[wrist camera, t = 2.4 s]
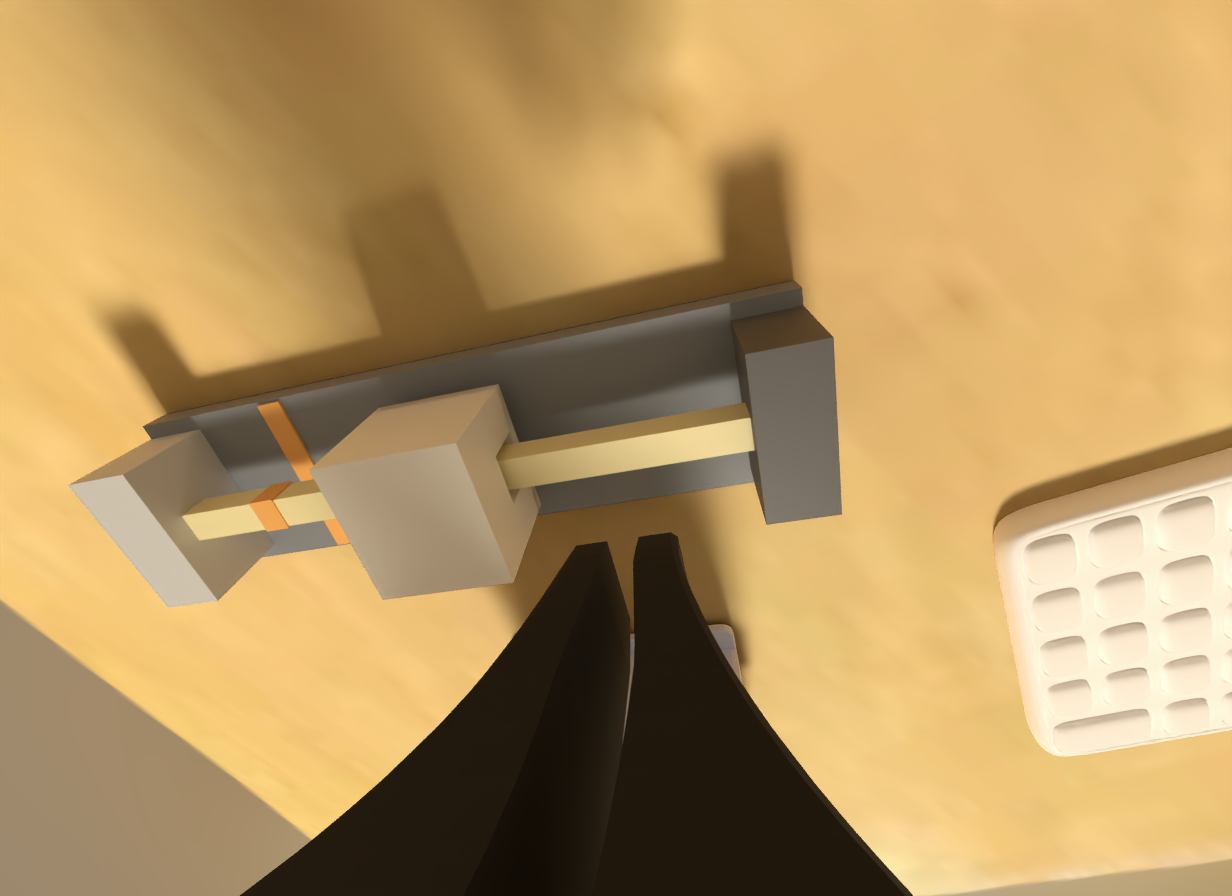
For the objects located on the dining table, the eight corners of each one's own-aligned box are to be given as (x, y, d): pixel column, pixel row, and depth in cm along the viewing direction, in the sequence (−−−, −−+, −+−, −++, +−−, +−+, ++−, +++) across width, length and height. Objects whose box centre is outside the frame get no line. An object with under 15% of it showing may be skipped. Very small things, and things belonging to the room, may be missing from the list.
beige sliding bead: (498, 383, 16) (455, 443, 13) (540, 504, 18) (513, 582, 15) (378, 407, 17) (308, 469, 13) (432, 521, 19) (382, 599, 15)
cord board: (794, 280, 16) (832, 315, 12) (807, 457, 18) (842, 528, 15) (166, 414, 19) (56, 471, 16) (254, 545, 22) (176, 618, 19)
